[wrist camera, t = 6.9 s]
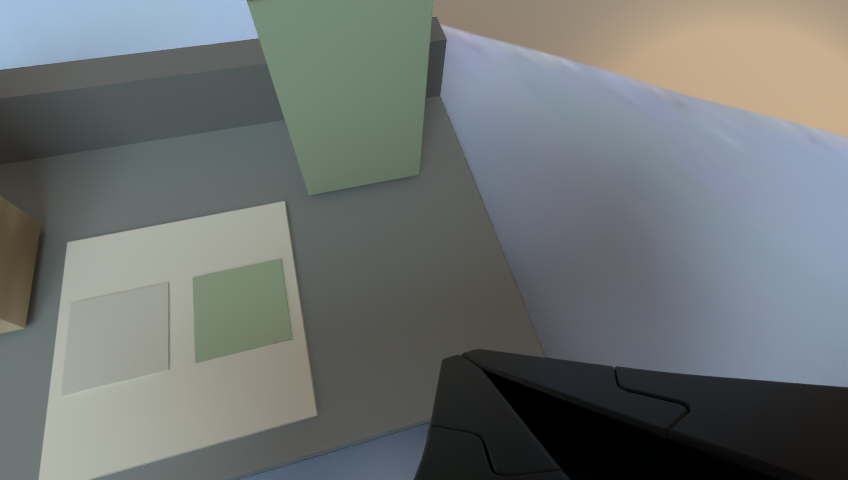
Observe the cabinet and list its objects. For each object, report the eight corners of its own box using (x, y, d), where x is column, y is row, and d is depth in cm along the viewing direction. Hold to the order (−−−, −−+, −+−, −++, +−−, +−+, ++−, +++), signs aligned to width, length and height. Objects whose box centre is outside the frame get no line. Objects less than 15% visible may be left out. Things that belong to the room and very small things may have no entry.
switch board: (541, 389, 15) (591, 361, 12) (-240, 621, 11) (-579, 703, 7) (428, 97, 22) (436, 17, 18) (-91, 179, 18) (-227, 97, 14)
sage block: (422, 176, 17) (443, -57, 10) (306, 198, 17) (229, -37, 9) (397, 103, 19) (398, -141, 12) (292, 119, 18) (218, -132, 11)
